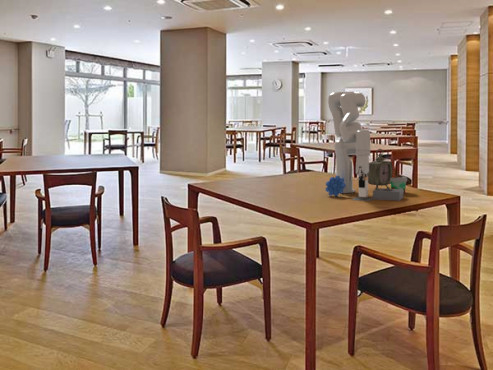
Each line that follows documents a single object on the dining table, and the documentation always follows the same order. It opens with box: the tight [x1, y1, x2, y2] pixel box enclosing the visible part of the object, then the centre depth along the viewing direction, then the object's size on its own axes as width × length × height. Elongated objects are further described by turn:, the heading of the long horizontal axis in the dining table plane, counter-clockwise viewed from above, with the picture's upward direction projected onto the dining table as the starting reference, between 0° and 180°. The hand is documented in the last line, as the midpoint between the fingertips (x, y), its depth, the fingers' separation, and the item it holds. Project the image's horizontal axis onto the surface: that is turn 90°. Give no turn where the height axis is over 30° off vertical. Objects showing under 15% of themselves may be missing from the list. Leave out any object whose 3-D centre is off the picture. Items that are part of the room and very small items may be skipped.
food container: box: [390, 175, 408, 195], centre depth 279 cm, size 12×6×10 cm, turn 130°
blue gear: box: [325, 176, 346, 197], centre depth 280 cm, size 12×7×12 cm, turn 68°
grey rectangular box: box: [372, 187, 404, 202], centre depth 265 cm, size 14×10×5 cm
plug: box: [357, 176, 369, 197], centre depth 265 cm, size 4×4×10 cm
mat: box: [351, 196, 374, 202], centre depth 266 cm, size 10×10×1 cm
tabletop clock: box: [367, 148, 394, 190], centre depth 294 cm, size 14×9×25 cm, turn 129°
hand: (363, 186), depth 265 cm, fingers closed on plug, 4 cm apart
